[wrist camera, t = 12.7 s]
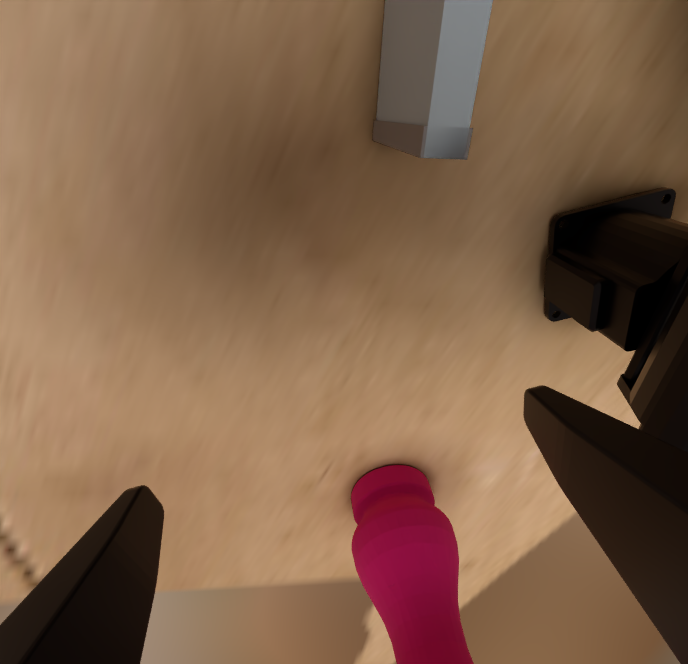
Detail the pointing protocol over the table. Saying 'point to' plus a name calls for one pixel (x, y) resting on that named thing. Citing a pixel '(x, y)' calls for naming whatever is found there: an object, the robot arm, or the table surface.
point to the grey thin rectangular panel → (430, 75)
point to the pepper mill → (409, 565)
